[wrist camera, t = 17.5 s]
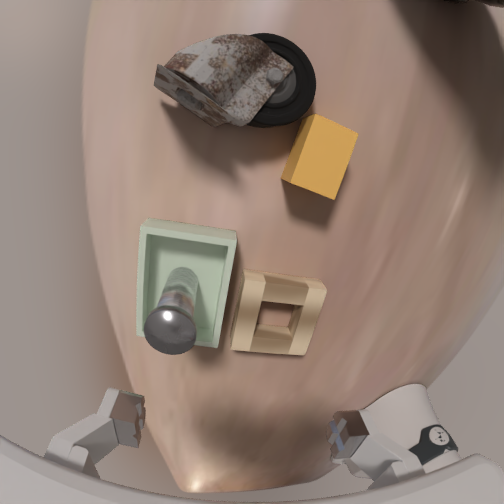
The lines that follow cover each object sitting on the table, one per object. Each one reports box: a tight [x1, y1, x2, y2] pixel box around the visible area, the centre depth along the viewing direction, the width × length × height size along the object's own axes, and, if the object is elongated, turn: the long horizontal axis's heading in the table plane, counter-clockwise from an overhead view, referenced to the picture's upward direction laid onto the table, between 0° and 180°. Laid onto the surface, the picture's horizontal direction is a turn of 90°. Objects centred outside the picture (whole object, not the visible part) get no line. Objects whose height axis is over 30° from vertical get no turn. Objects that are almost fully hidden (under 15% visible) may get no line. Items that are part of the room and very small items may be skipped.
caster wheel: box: [154, 33, 316, 128], centre depth 20 cm, size 7×11×10 cm
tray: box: [136, 218, 237, 348], centre depth 27 cm, size 11×8×3 cm
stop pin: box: [144, 267, 198, 355], centre depth 24 cm, size 4×4×9 cm
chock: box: [281, 114, 358, 200], centre depth 24 cm, size 6×4×4 cm, turn 161°
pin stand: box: [230, 269, 327, 355], centre depth 29 cm, size 8×8×2 cm
